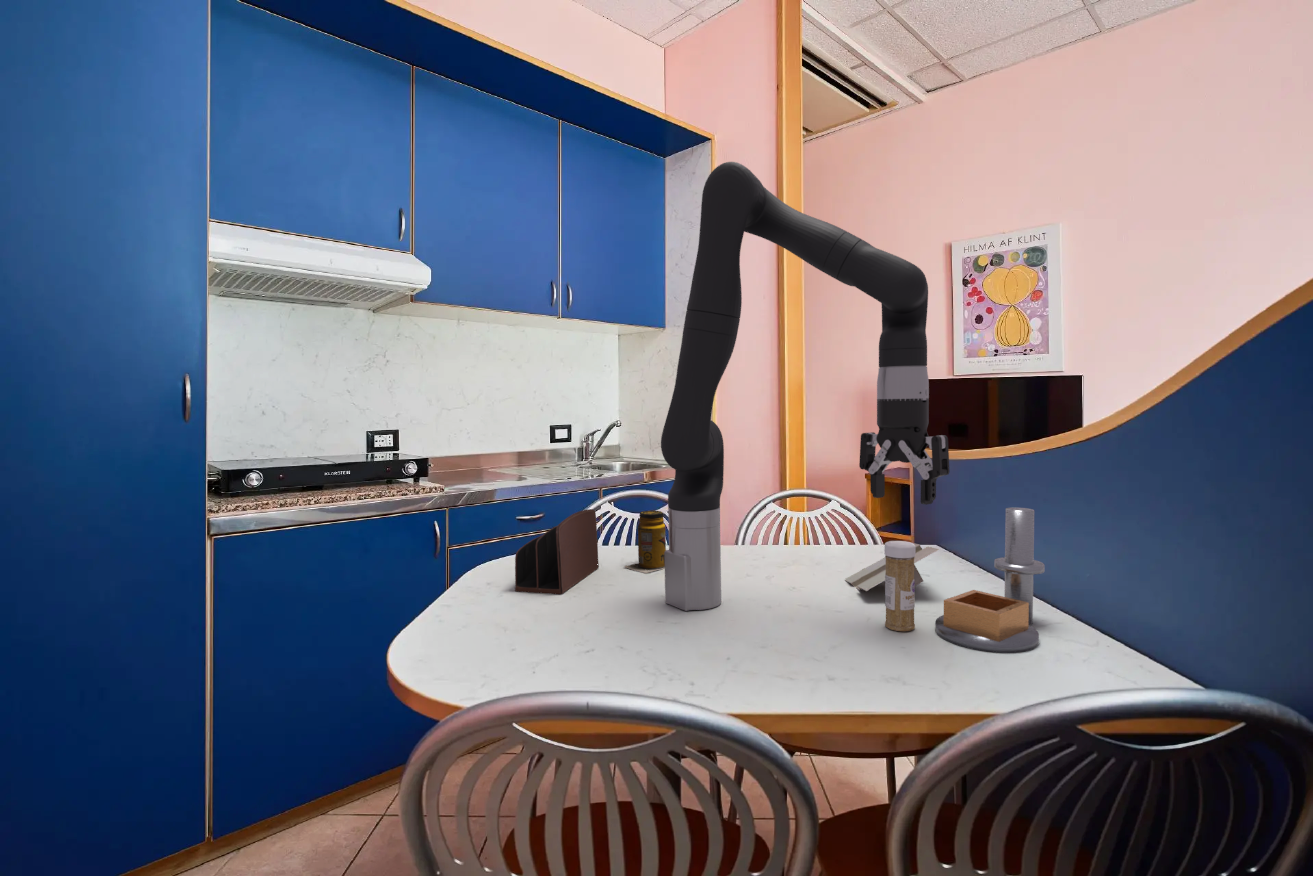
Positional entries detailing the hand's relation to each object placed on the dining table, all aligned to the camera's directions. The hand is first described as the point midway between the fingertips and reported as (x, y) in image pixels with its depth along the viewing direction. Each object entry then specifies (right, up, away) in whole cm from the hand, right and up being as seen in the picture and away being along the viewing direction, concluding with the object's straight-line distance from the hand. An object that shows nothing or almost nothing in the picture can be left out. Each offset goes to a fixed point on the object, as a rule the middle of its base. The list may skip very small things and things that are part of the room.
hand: (902, 500), depth 104 cm
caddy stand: (+14, -20, -1) cm, 24 cm away
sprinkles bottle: (0, -20, +1) cm, 20 cm away
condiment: (-40, -19, +41) cm, 60 cm away
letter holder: (-58, -20, +33) cm, 70 cm away
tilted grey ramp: (+5, -19, +21) cm, 29 cm away
